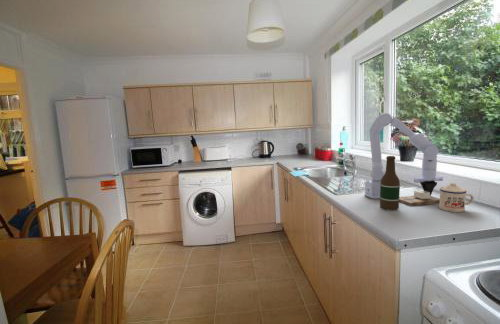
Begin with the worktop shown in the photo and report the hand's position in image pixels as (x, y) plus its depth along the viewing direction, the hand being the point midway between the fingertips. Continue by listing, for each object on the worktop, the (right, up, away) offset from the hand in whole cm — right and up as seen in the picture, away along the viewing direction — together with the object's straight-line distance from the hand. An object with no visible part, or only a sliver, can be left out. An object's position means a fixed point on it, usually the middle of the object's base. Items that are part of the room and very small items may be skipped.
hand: (427, 195), depth 122 cm
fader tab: (-3, -1, -1) cm, 3 cm away
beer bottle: (-24, -5, -8) cm, 26 cm away
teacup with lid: (+2, -4, -14) cm, 14 cm away
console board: (-5, -3, 0) cm, 6 cm away
